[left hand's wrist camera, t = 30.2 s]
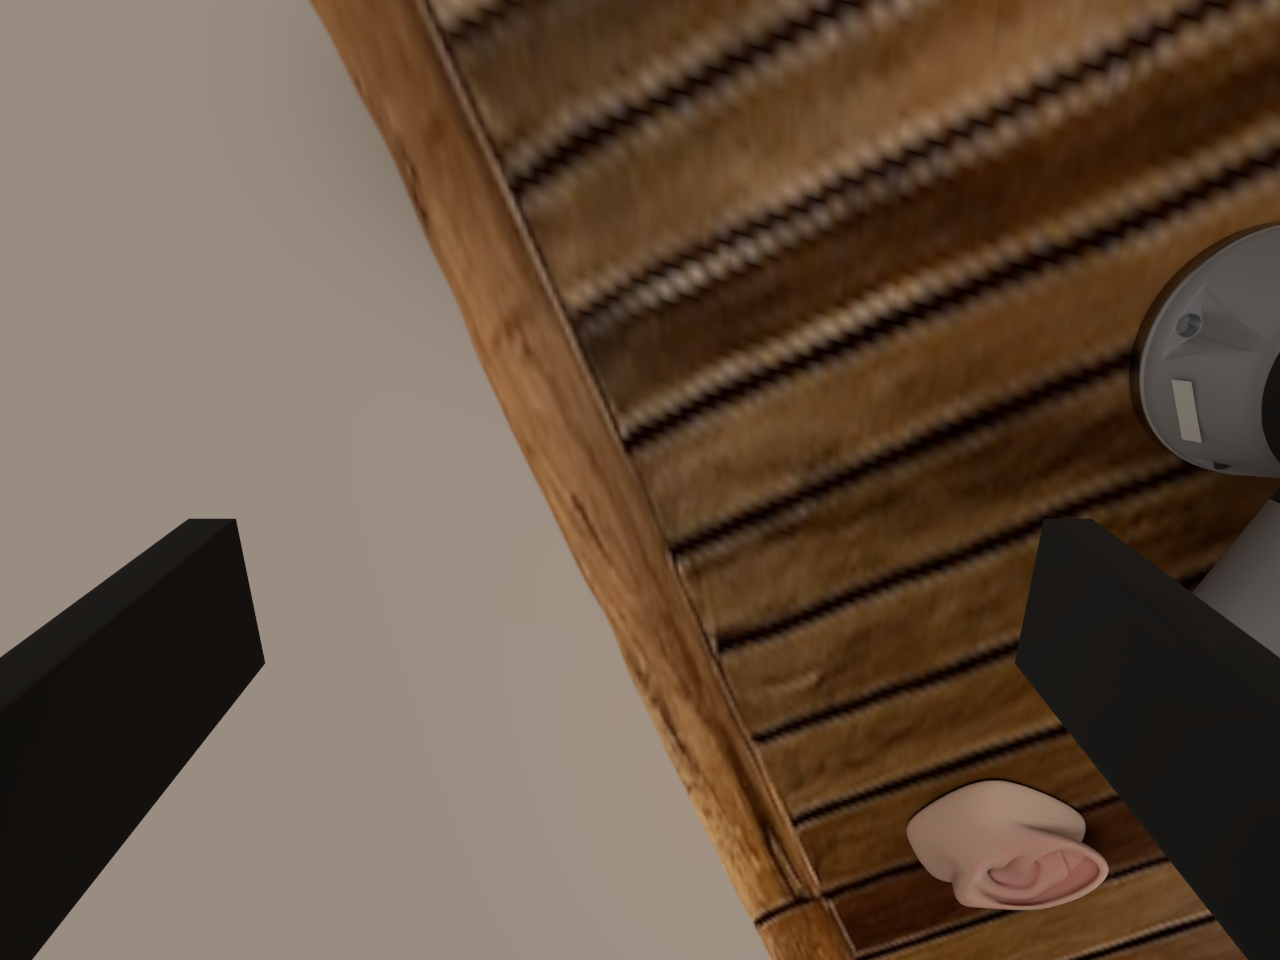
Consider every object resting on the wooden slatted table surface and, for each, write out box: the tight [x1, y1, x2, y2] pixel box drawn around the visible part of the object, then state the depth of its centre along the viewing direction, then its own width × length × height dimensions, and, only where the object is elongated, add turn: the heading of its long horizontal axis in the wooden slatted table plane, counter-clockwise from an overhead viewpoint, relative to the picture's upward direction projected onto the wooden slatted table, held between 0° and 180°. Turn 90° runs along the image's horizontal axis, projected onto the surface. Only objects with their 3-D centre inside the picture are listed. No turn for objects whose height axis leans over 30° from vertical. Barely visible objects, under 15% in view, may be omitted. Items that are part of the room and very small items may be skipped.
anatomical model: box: [907, 780, 1108, 910], centre depth 60 cm, size 13×4×12 cm
